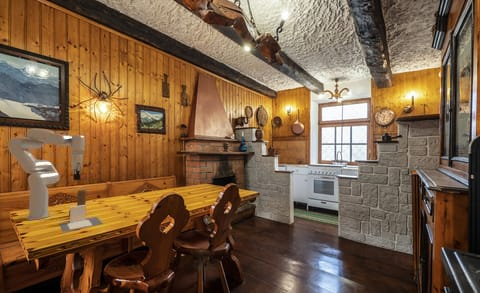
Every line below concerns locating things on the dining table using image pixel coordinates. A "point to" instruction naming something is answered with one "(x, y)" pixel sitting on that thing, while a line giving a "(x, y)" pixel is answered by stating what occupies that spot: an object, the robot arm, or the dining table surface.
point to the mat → (80, 224)
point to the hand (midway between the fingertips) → (76, 179)
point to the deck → (77, 213)
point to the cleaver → (81, 198)
